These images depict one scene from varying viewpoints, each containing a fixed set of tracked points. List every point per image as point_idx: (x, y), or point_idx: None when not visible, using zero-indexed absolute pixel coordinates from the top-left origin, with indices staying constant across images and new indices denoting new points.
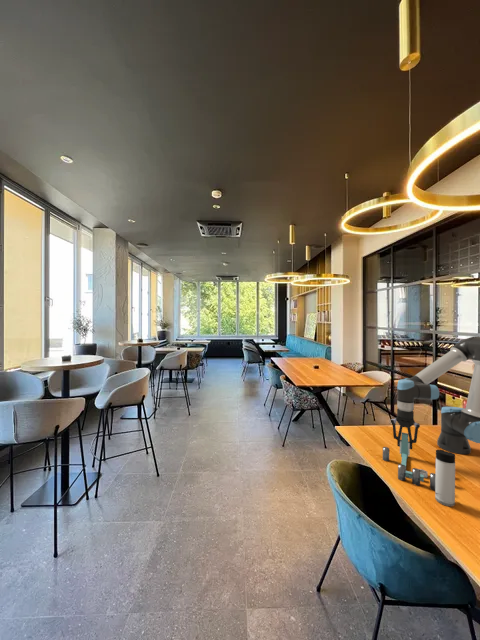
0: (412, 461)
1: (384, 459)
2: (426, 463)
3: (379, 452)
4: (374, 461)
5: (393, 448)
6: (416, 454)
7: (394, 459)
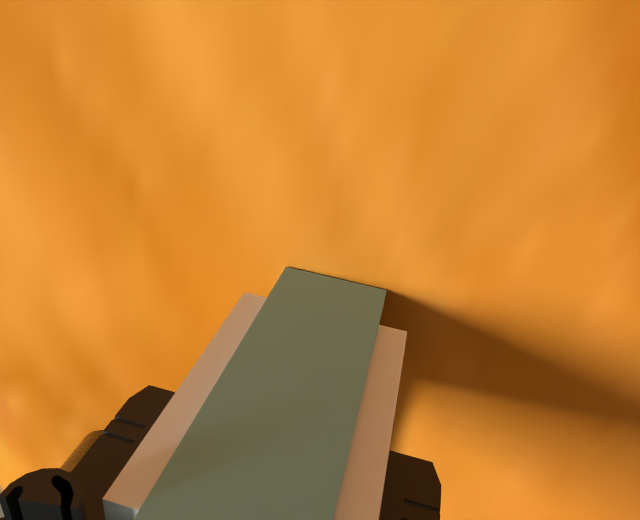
0: (420, 434)
1: None
2: (632, 451)
3: (7, 294)
4: None
5: (149, 19)
6: (596, 145)
7: None
